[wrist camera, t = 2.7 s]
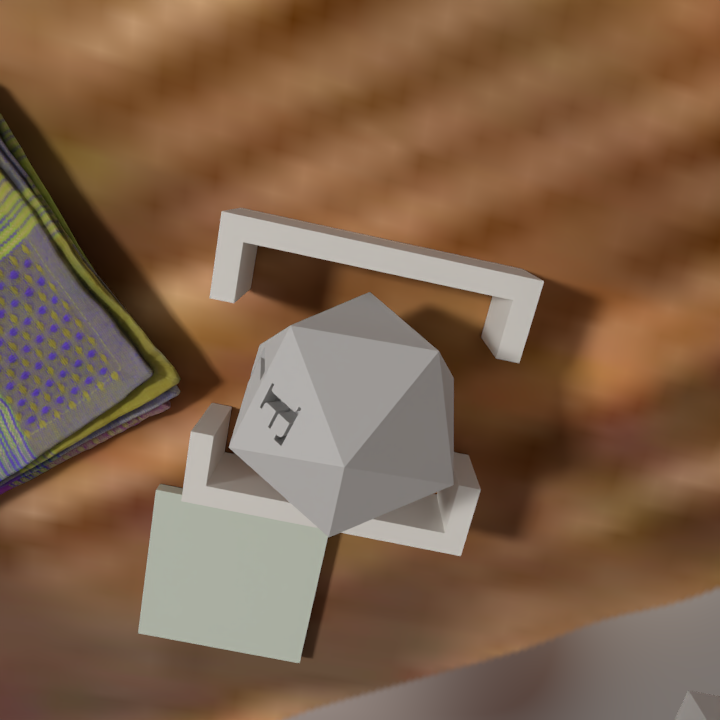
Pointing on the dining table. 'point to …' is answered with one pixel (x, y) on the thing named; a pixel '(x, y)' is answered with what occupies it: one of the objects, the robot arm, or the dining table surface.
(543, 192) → the dining table surface
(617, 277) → the dining table surface
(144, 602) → the mat
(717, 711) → the robot arm
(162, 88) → the dining table surface
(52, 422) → the dish towel
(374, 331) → the die
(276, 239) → the pocket
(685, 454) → the dining table surface
